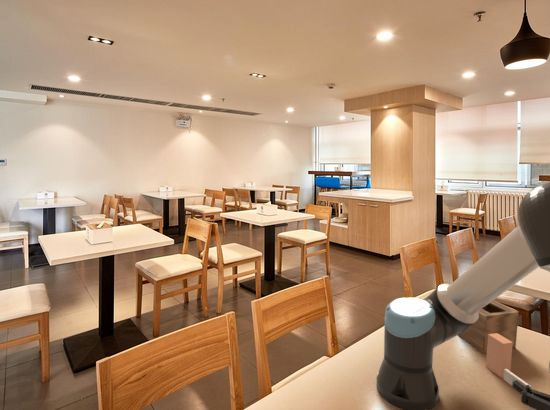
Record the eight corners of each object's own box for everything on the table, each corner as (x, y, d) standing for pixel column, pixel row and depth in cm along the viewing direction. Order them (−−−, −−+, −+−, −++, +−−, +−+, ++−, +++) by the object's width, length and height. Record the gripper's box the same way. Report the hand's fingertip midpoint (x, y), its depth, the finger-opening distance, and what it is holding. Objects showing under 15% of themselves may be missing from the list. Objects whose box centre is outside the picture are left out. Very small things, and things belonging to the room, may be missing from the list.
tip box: (482, 352, 102) (485, 316, 100) (456, 334, 112) (458, 301, 111) (515, 347, 104) (518, 311, 102) (487, 330, 115) (489, 297, 113)
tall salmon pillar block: (500, 377, 90) (503, 343, 89) (485, 366, 95) (488, 334, 94) (510, 376, 91) (512, 342, 89) (494, 365, 95) (497, 333, 94)
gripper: (576, 468, 61) (484, 391, 82) (677, 444, 66) (566, 376, 87) (580, 432, 60) (486, 363, 81) (683, 410, 65) (569, 350, 86)
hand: (527, 370), depth 84 cm, fingers open, 13 cm apart
